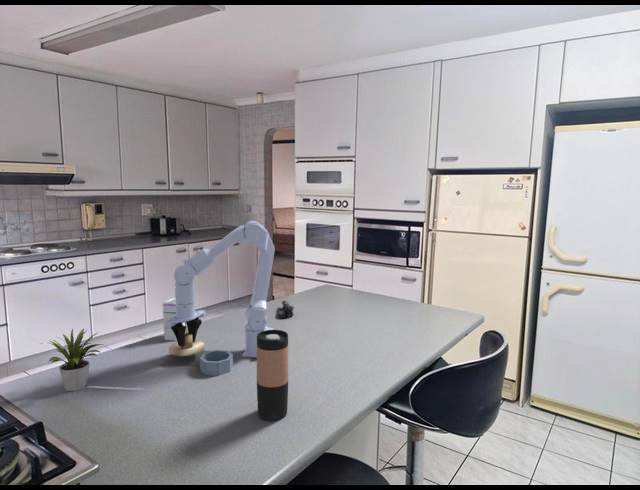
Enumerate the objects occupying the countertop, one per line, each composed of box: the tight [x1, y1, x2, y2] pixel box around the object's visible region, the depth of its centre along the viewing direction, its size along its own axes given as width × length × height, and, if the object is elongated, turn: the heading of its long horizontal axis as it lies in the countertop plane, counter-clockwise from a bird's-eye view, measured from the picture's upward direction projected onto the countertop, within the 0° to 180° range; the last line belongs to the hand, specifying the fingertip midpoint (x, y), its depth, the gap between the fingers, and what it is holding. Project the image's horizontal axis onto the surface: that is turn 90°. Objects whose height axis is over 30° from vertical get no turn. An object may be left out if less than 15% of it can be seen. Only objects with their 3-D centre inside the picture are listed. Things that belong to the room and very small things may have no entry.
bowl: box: [199, 349, 234, 377], centre depth 123 cm, size 9×9×4 cm
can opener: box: [277, 300, 295, 318], centre depth 181 cm, size 18×7×6 cm, turn 7°
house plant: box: [39, 328, 105, 392], centre depth 109 cm, size 14×14×16 cm
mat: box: [159, 350, 211, 368], centre depth 131 cm, size 12×12×1 cm
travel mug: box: [256, 329, 289, 422], centre depth 99 cm, size 8×8×20 cm
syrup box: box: [162, 297, 188, 342], centre depth 147 cm, size 6×6×14 cm
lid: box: [168, 332, 206, 356], centre depth 130 cm, size 11×11×5 cm
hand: (186, 343), depth 130 cm, fingers closed on lid, 4 cm apart
